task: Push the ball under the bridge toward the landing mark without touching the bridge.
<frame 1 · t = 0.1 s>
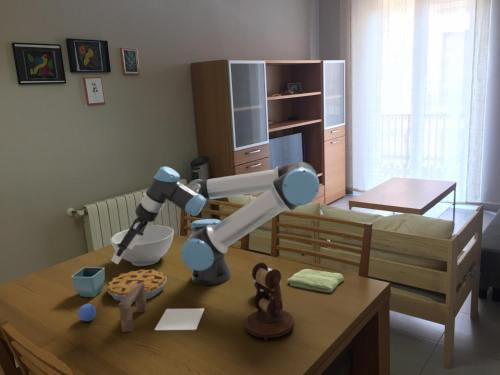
hand: (122, 254, 158), 15 cm above the table, tool tilted 35°, fingers open, 13 cm apart
pie: (138, 291, 164), on the table
flower pot: (91, 294, 163), on the table
washcloth: (315, 284, 160), on the table
brown wooden tall piece: (269, 329, 131), on the table
bridge: (135, 319, 142), on the table
donut: (267, 295, 153), on the table
decorative bowl: (146, 261, 193), on the table
ball: (87, 312, 143), on the table
landing mark: (180, 319, 140), on the table
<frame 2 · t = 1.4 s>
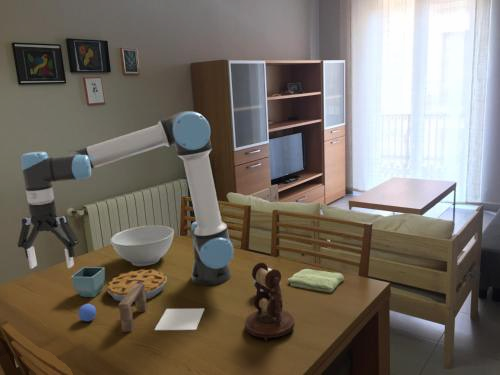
hand: (52, 266, 141), 19 cm above the table, tool pointing down, fingers open, 12 cm apart
nothing on the table moved.
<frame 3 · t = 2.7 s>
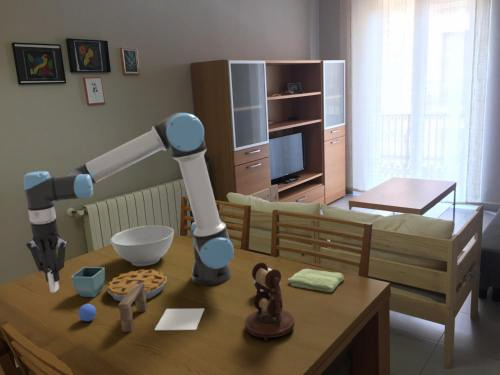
hand: (54, 290, 142), 11 cm above the table, tool pointing down, fingers closed
nothing on the table moved.
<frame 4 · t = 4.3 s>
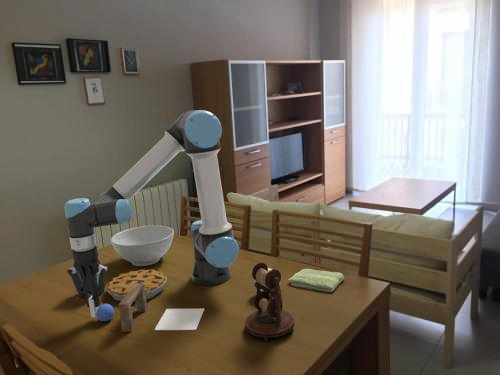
hand: (95, 315, 143), 2 cm above the table, tool pointing down, fingers closed
ball: (105, 312, 142), on the table
everything else where it was.
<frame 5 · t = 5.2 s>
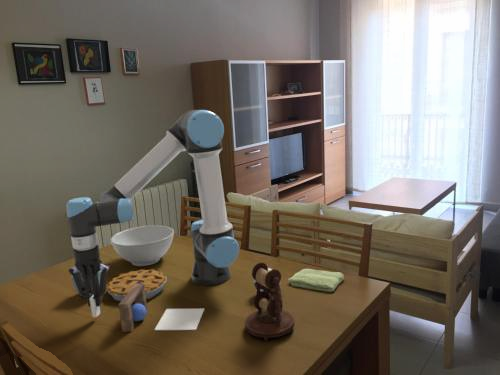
hand: (96, 314, 143), 2 cm above the table, tool pointing down, fingers closed
ball: (137, 312, 141), on the table
everything else where it was.
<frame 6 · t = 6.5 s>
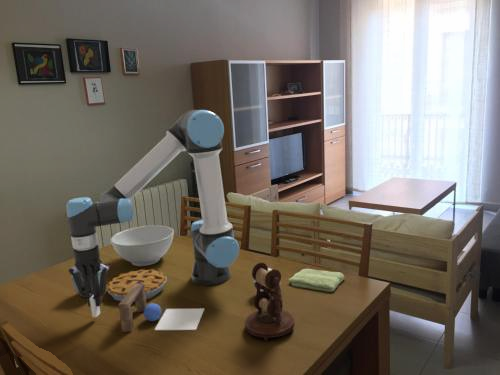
hand: (96, 314, 143), 2 cm above the table, tool pointing down, fingers closed
ball: (152, 312, 140), on the table
everything else where it was.
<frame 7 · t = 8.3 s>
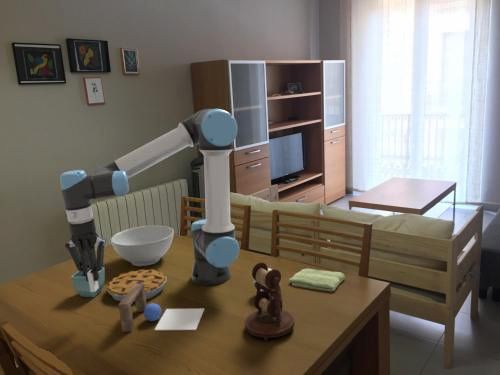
hand: (94, 289, 141), 11 cm above the table, tool pointing down, fingers closed
nothing on the table moved.
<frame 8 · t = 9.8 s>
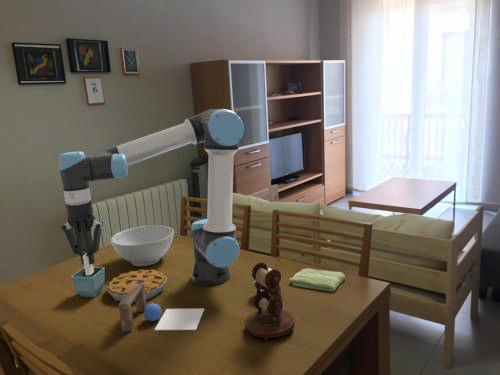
hand: (89, 273, 140), 16 cm above the table, tool pointing down, fingers closed
nothing on the table moved.
at the end: ball 8.8 cm from the landing mark (horizontally); ball never touched bridge; ball at rest at the end (0.0 cm/s) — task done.
